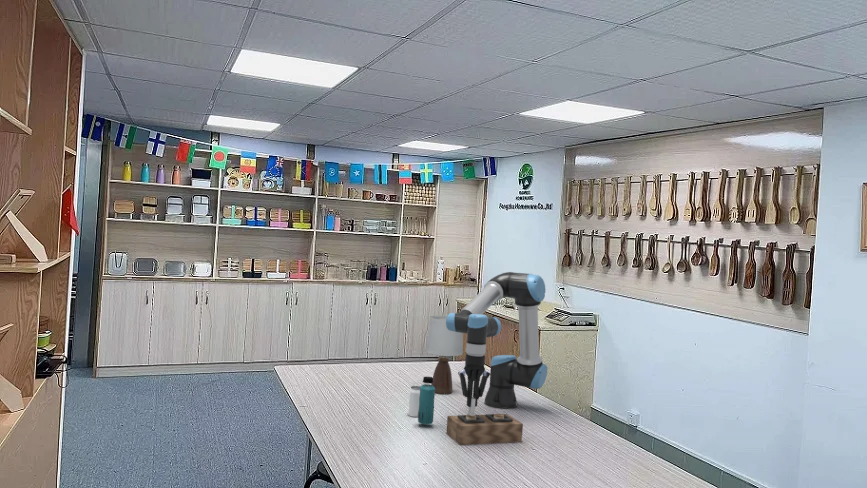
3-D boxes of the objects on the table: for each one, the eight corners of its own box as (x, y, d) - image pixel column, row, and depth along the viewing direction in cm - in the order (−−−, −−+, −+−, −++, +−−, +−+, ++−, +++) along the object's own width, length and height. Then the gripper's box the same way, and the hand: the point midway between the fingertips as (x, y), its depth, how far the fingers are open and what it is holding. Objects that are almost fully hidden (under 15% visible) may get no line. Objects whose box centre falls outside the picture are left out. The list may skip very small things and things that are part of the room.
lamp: (467, 394, 325) (472, 320, 324) (436, 397, 314) (441, 321, 314) (445, 386, 340) (450, 315, 340) (415, 388, 330) (420, 315, 329)
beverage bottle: (435, 425, 269) (438, 376, 269) (429, 429, 263) (433, 379, 262) (420, 422, 271) (423, 374, 271) (414, 426, 265) (418, 377, 265)
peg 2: (500, 432, 261) (501, 413, 261) (504, 436, 257) (505, 416, 257) (490, 433, 260) (492, 413, 260) (495, 436, 256) (496, 416, 256)
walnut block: (505, 430, 267) (506, 411, 267) (521, 441, 254) (523, 421, 254) (446, 433, 258) (447, 413, 258) (460, 445, 245) (461, 423, 245)
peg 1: (472, 433, 257) (473, 413, 257) (476, 436, 253) (478, 416, 253) (463, 434, 255) (464, 414, 255) (467, 437, 252) (468, 417, 252)
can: (421, 418, 278) (423, 390, 277) (406, 416, 279) (408, 388, 279) (424, 414, 284) (426, 386, 284) (410, 412, 285) (411, 385, 285)
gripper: (486, 352, 260) (482, 411, 260) (456, 352, 255) (452, 412, 255) (494, 356, 253) (490, 417, 253) (463, 356, 248) (459, 418, 248)
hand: (471, 414), depth 254 cm, fingers closed
